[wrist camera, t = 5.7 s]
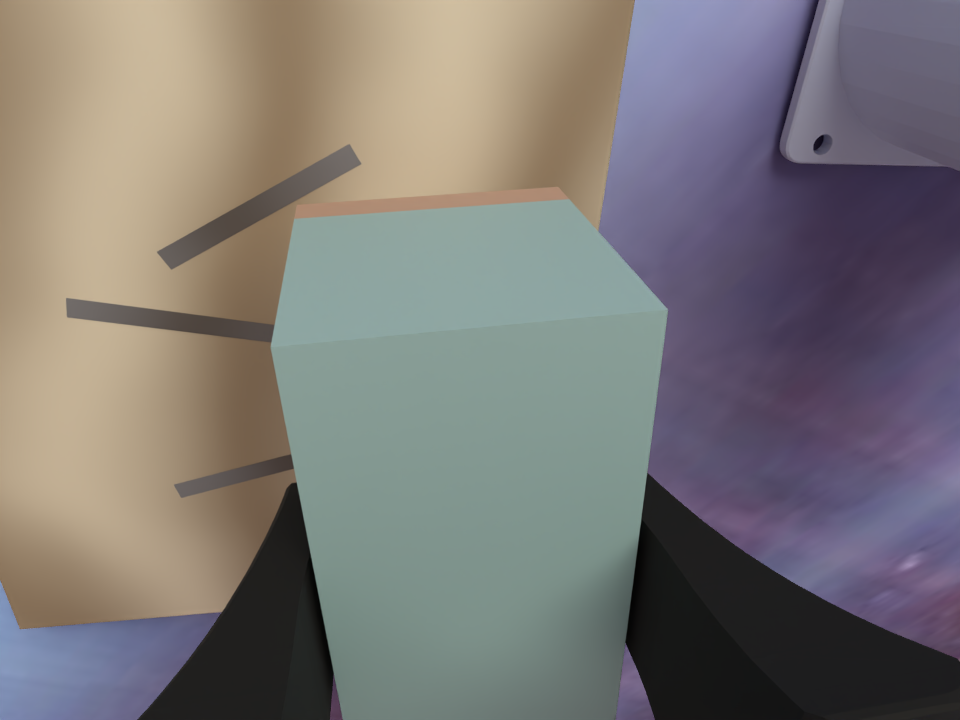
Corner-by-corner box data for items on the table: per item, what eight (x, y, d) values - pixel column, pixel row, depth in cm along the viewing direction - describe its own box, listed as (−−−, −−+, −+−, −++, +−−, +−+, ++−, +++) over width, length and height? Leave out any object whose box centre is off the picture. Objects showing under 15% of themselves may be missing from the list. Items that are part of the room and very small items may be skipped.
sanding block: (557, 186, 14) (667, 309, 9) (545, 528, 18) (614, 727, 14) (296, 205, 13) (270, 347, 8) (351, 554, 18) (352, 772, 13)
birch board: (614, -27, 16) (638, -23, 15) (532, 551, 25) (542, 584, 24) (-209, -84, 13) (-269, -86, 12) (38, 589, 22) (19, 629, 21)
